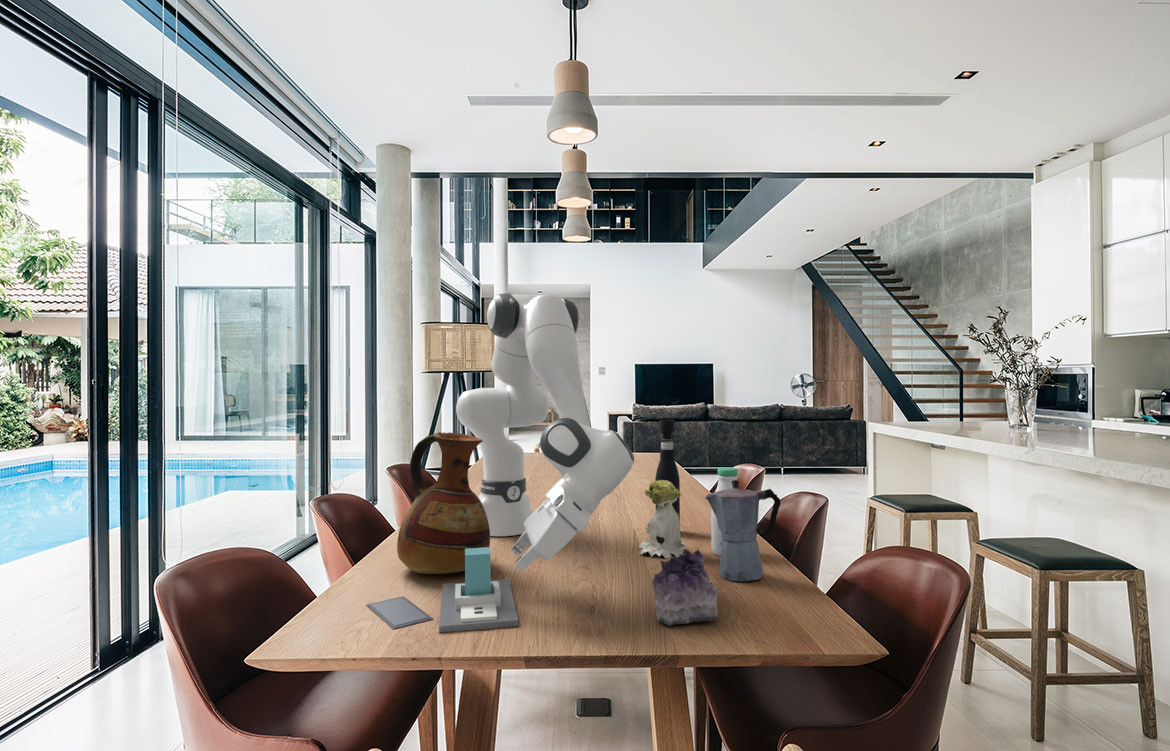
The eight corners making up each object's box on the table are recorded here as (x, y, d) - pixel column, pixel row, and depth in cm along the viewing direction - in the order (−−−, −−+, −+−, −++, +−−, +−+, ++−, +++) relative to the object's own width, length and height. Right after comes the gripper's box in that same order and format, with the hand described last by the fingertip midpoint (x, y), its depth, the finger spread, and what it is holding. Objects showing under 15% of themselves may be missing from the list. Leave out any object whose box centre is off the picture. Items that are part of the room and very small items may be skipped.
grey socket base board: (443, 588, 126) (442, 573, 126) (508, 584, 129) (508, 569, 129) (439, 632, 105) (439, 614, 105) (518, 625, 107) (518, 608, 107)
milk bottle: (745, 558, 146) (745, 471, 146) (711, 556, 147) (710, 470, 147) (744, 549, 153) (743, 466, 153) (711, 548, 155) (710, 465, 155)
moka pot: (702, 569, 138) (701, 476, 138) (774, 569, 138) (773, 476, 138) (709, 583, 129) (708, 484, 129) (786, 583, 128) (785, 483, 128)
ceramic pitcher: (472, 586, 128) (471, 437, 128) (379, 581, 132) (378, 436, 132) (502, 558, 147) (501, 428, 147) (420, 554, 151) (419, 428, 151)
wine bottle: (656, 529, 174) (655, 419, 174) (679, 530, 173) (678, 419, 173) (655, 535, 167) (654, 421, 167) (680, 536, 166) (679, 421, 167)
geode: (650, 589, 126) (656, 538, 126) (709, 599, 124) (715, 548, 125) (647, 625, 106) (654, 565, 106) (717, 637, 104) (725, 576, 104)
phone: (393, 633, 106) (393, 628, 106) (366, 608, 118) (366, 604, 118) (433, 623, 110) (433, 618, 110) (403, 600, 122) (403, 595, 122)
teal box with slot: (465, 597, 119) (464, 548, 119) (490, 595, 120) (489, 547, 120) (465, 605, 114) (465, 555, 114) (491, 603, 115) (490, 553, 115)
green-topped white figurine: (683, 545, 158) (683, 476, 158) (689, 558, 146) (689, 484, 146) (638, 544, 158) (638, 476, 158) (640, 558, 146) (640, 484, 146)
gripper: (548, 484, 130) (500, 534, 128) (564, 503, 110) (507, 564, 108) (570, 505, 131) (523, 555, 129) (589, 528, 110) (533, 588, 109)
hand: (516, 559), depth 118 cm, fingers open, 8 cm apart
